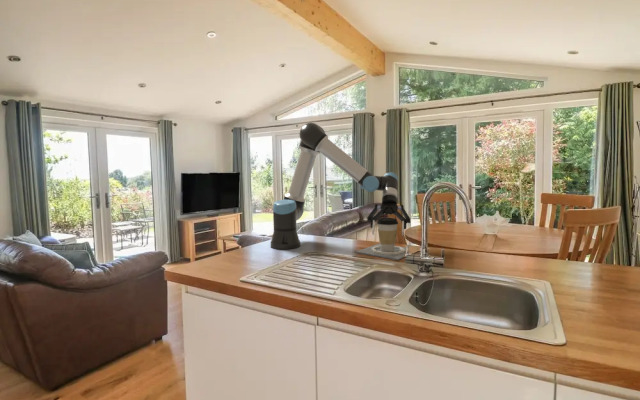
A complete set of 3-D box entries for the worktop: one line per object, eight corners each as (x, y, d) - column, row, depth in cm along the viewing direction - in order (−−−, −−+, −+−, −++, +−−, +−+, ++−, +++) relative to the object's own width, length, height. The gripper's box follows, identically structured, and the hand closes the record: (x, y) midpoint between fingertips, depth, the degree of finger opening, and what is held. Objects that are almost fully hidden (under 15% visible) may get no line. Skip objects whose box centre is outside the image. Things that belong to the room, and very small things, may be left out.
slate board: (355, 252, 165) (355, 249, 164) (379, 244, 181) (379, 241, 181) (397, 260, 150) (397, 257, 150) (419, 250, 167) (419, 248, 167)
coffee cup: (400, 249, 167) (401, 218, 166) (393, 253, 159) (393, 221, 158) (381, 247, 173) (381, 217, 171) (373, 251, 164) (373, 219, 163)
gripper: (415, 203, 176) (415, 239, 162) (365, 202, 182) (361, 237, 168) (415, 193, 170) (415, 229, 157) (364, 193, 176) (360, 228, 163)
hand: (387, 233), depth 163 cm, fingers open, 13 cm apart
